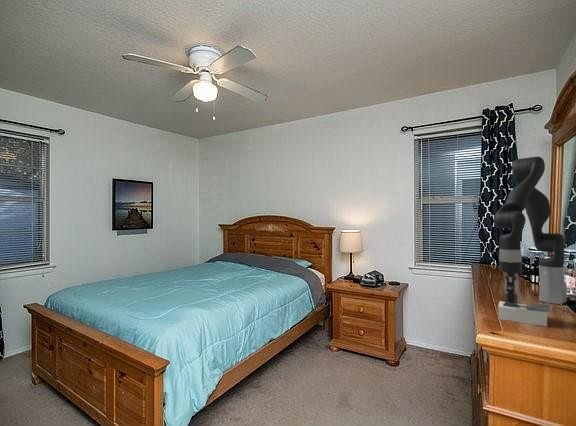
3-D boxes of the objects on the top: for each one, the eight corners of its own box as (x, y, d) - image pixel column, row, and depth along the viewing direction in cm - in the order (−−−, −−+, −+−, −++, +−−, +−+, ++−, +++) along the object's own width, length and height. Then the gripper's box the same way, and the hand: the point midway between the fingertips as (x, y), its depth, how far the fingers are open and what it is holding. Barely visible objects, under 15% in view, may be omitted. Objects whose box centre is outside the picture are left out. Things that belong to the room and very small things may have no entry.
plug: (517, 317, 126) (516, 286, 126) (518, 319, 122) (517, 288, 123) (505, 315, 128) (505, 285, 128) (505, 318, 125) (504, 287, 125)
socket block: (499, 312, 132) (499, 301, 132) (545, 319, 123) (545, 306, 123) (498, 319, 124) (498, 306, 124) (547, 326, 115) (546, 312, 115)
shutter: (526, 304, 125) (526, 295, 125) (548, 307, 121) (548, 297, 121) (526, 308, 120) (526, 298, 120) (550, 312, 115) (549, 301, 116)
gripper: (500, 258, 134) (501, 295, 133) (498, 261, 122) (499, 302, 122) (521, 259, 129) (522, 297, 129) (521, 263, 118) (523, 305, 117)
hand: (511, 300), depth 125 cm, fingers open, 8 cm apart
